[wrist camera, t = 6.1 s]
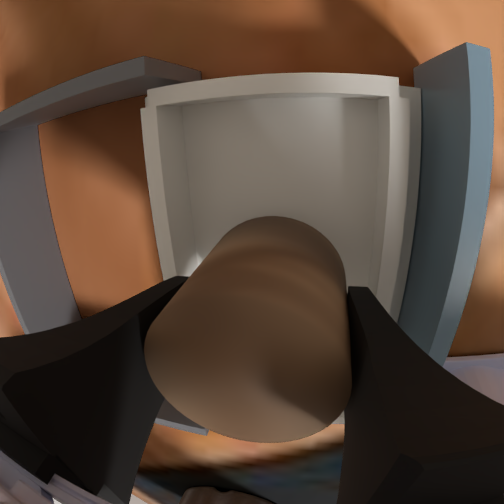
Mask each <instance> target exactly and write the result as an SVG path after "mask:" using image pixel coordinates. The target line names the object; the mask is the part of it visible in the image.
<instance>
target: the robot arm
mask: <svg viewBox="0 0 504 504" xmlns="http://www.w3.org/2000/svg"><path fill="white" fill-rule="evenodd" d="M188 278H189V277H188V276H174V277H172V278H169V279H167V280H165V281H163V282H161V283H159V284H157V285H155V286H153V287H151V288H149V289H147V290H145V291H143V292H141V293H139V294H137V295H135V296H133V297H131V298H129V299H127V300H125V301H123V302H121V303H119V304H117V305H115V306H113V307H110V308H108V309H106V310H104V311H102V312H99V313H97V314H95V315H92V316H90V317H87V318H84V319H82V320H79V321H76V322H73V323H70V324H67V325H63V326H60V327H56V328H53V329H49V330H45V331H41V332H36V333H31V334H26V335H20V336H13V337H2V338H0V504H54V501H53V498H54V499H56V500H57V501H59V502H60V503H62V504H129V501H130V497H131V493H132V489H133V485H134V481H135V477H136V474H137V470H138V467H139V464H140V461H141V457H142V454H143V451H144V448H145V446H146V443H147V440H148V437H149V435H150V432H151V429H152V427H153V424H154V422H155V419H156V417H157V414H158V412H159V410H160V407H161V405H162V403H163V401H164V399H165V397H164V396H163V395H162V394H161V393H160V391H159V390H158V388H157V387H156V385H155V384H154V382H153V380H152V378H151V376H150V374H149V371H148V369H147V366H146V362H145V355H144V345H145V338H146V335H147V332H148V330H149V328H150V326H151V324H152V323H153V321H154V320H155V319H156V318H157V316H158V315H159V314H160V313H161V311H162V310H163V309H164V308H165V306H166V305H167V304H168V303H169V301H170V300H171V299H172V298H173V296H174V295H175V294H176V293H177V292H178V290H179V289H180V288H181V287H182V285H183V284H184V283H185V282H186V281H187V279H188ZM347 300H348V314H349V327H350V345H351V370H352V389H351V395H350V398H349V401H348V404H347V406H346V407H345V409H344V420H345V436H344V448H343V460H342V469H341V478H340V486H339V493H338V499H337V504H504V353H501V354H490V355H477V356H462V357H447V358H446V360H445V363H444V365H443V367H442V366H441V365H439V364H438V363H437V362H436V361H435V360H433V359H432V358H431V357H430V356H429V355H428V354H427V353H425V352H424V351H423V350H422V349H421V348H420V347H419V346H418V345H417V344H416V343H415V342H414V341H413V340H412V339H411V338H410V337H409V336H408V335H407V334H406V333H405V332H404V331H403V330H402V329H401V328H400V327H399V325H398V324H397V323H396V322H395V321H394V320H393V318H392V317H391V316H390V315H389V314H388V312H387V311H386V310H385V309H384V307H383V306H382V305H381V303H380V302H379V301H378V299H377V298H376V297H375V296H374V294H373V293H372V292H371V290H370V289H369V288H368V287H360V286H348V293H347Z"/></svg>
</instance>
